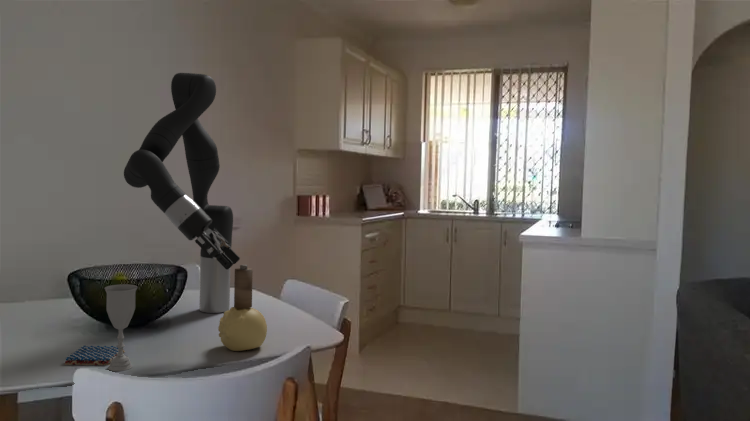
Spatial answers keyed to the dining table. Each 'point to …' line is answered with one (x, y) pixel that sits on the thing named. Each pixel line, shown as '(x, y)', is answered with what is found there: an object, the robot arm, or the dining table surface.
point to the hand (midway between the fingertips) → (234, 264)
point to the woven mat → (92, 356)
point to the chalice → (120, 319)
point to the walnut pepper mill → (243, 287)
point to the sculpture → (242, 329)
